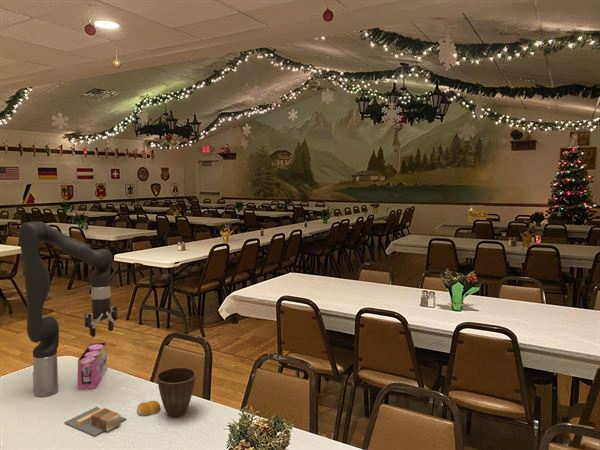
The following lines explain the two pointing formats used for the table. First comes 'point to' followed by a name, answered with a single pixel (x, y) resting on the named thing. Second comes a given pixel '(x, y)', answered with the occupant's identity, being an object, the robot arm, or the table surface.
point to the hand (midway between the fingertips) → (102, 333)
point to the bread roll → (148, 408)
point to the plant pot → (176, 389)
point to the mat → (87, 422)
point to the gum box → (92, 366)
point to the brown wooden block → (106, 419)
